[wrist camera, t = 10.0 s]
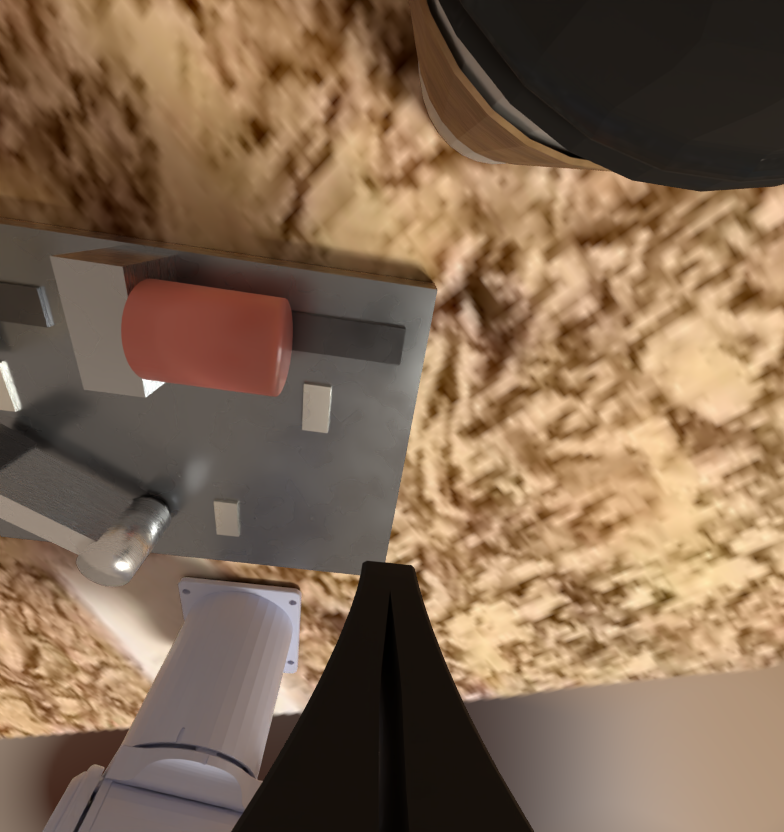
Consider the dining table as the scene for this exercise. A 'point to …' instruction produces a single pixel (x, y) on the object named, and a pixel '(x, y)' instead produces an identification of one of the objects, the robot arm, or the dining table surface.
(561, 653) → the dining table surface
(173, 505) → the panel
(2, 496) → the lever
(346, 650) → the robot arm
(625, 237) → the dining table surface
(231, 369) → the red short cylinder
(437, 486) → the dining table surface
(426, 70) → the coffee cup
